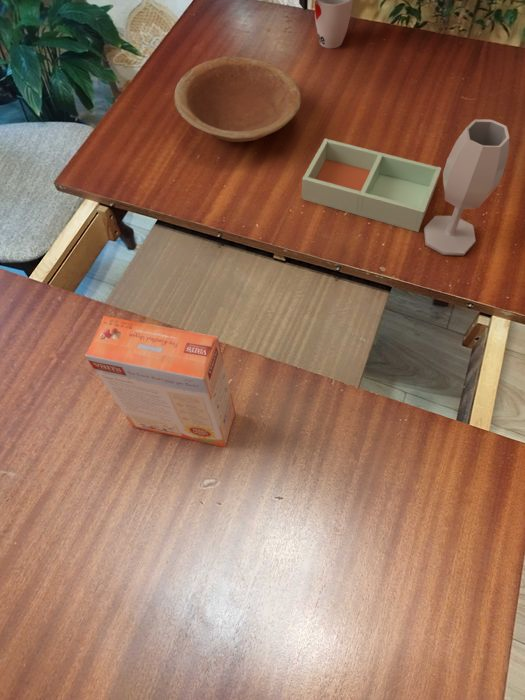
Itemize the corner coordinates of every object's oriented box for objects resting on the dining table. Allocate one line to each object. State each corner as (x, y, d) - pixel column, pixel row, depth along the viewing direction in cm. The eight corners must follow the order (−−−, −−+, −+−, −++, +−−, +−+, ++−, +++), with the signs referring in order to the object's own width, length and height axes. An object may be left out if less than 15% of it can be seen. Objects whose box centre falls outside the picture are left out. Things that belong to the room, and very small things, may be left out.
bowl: (262, 183, 100) (260, 148, 93) (158, 144, 107) (149, 108, 100) (320, 109, 110) (322, 72, 103) (221, 77, 116) (217, 40, 109)
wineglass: (429, 212, 95) (462, 106, 76) (479, 225, 93) (526, 119, 74) (416, 249, 91) (447, 146, 72) (468, 263, 89) (514, 161, 71)
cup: (314, 30, 123) (316, -17, 115) (350, 31, 122) (355, -16, 114) (311, 51, 119) (312, 4, 111) (348, 53, 118) (352, 5, 110)
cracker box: (237, 410, 78) (220, 334, 60) (225, 449, 75) (204, 382, 57) (145, 390, 80) (103, 311, 62) (131, 427, 77) (82, 356, 59)
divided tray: (435, 188, 97) (441, 167, 93) (418, 232, 92) (424, 212, 88) (323, 159, 102) (324, 138, 98) (301, 199, 98) (302, 178, 93)
